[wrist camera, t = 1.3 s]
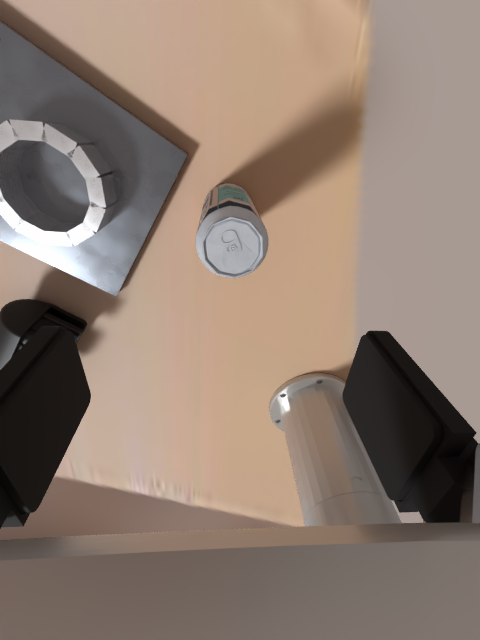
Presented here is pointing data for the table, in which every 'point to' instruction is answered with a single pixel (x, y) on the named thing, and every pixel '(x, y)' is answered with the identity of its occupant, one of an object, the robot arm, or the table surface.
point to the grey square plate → (75, 168)
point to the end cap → (31, 324)
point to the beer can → (231, 232)
